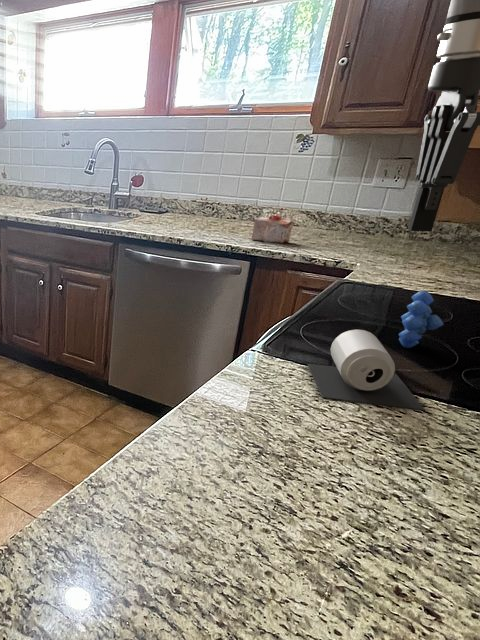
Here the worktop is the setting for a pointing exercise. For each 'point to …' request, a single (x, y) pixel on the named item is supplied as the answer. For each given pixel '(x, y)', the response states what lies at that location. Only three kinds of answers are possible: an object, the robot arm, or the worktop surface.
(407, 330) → the grapes
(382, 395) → the mat
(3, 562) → the worktop surface
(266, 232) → the food item
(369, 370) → the can
